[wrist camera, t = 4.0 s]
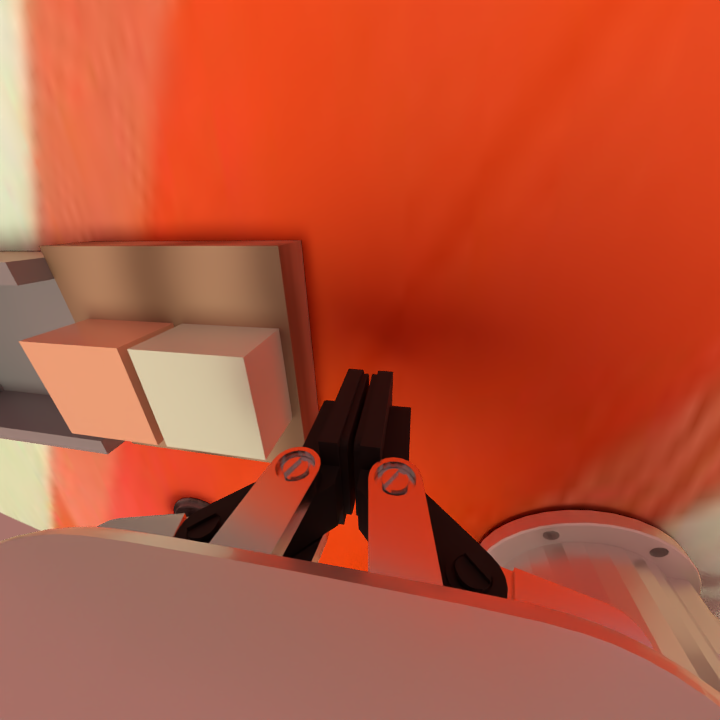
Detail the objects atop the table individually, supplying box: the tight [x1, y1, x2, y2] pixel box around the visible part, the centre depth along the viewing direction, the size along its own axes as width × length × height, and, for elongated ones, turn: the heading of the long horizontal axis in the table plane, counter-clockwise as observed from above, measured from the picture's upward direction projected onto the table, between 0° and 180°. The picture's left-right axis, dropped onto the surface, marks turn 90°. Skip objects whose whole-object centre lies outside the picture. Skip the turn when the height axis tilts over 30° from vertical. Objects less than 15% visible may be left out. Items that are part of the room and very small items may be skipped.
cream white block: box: [127, 324, 292, 460], centre depth 14 cm, size 5×5×3 cm
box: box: [0, 251, 124, 454], centre depth 18 cm, size 14×11×4 cm
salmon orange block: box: [19, 319, 174, 445], centre depth 15 cm, size 5×5×3 cm
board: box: [39, 240, 319, 463], centre depth 17 cm, size 12×12×2 cm
